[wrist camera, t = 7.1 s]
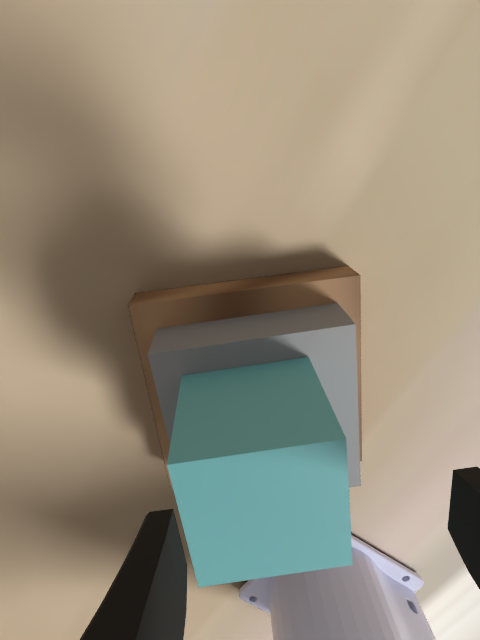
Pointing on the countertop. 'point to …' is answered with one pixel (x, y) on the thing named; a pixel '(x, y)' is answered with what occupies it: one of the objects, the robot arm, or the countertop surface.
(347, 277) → the walnut base slab
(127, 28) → the countertop surface
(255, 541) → the teal block
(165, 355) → the grey top slab
